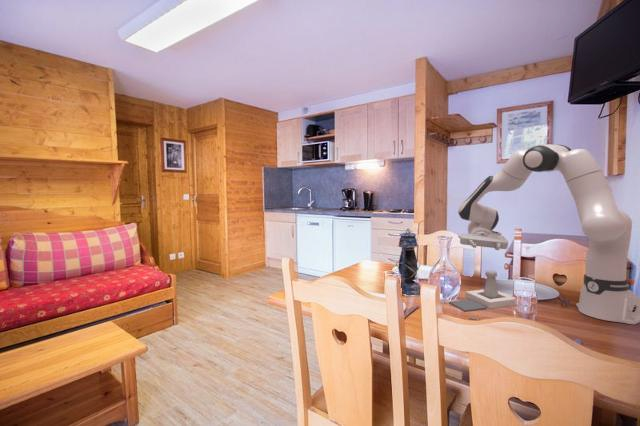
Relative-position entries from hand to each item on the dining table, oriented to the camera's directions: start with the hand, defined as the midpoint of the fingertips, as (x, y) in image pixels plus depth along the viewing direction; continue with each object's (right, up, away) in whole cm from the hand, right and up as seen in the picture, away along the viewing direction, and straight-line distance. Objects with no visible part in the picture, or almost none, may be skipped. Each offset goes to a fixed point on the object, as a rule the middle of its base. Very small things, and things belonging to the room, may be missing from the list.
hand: (486, 247), depth 140 cm
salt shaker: (-2, -22, -8) cm, 24 cm away
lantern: (-34, -22, +6) cm, 40 cm away
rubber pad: (-15, -23, -13) cm, 30 cm away
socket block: (-2, -22, -8) cm, 23 cm away
